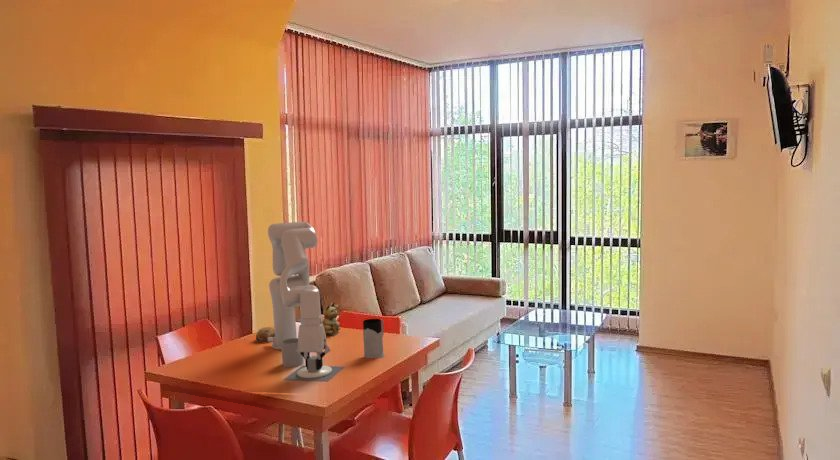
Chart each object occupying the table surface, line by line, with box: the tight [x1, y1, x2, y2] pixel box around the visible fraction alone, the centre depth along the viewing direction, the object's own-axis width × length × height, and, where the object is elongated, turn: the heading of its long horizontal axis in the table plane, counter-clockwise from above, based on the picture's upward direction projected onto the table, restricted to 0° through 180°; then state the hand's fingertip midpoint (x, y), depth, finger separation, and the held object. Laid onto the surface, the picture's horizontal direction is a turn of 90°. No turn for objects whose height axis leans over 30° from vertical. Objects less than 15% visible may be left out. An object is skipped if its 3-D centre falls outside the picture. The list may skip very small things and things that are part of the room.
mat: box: [282, 364, 346, 382], centre depth 240 cm, size 18×18×1 cm
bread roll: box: [255, 326, 275, 343], centre depth 297 cm, size 10×10×8 cm
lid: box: [297, 355, 332, 379], centre depth 240 cm, size 13×13×6 cm
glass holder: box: [362, 318, 386, 359], centre depth 263 cm, size 9×14×15 cm, turn 156°
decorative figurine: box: [321, 302, 341, 336], centre depth 303 cm, size 10×8×15 cm
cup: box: [281, 337, 305, 368], centre depth 254 cm, size 8×8×10 cm
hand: (314, 368), depth 240 cm, fingers open, 3 cm apart
